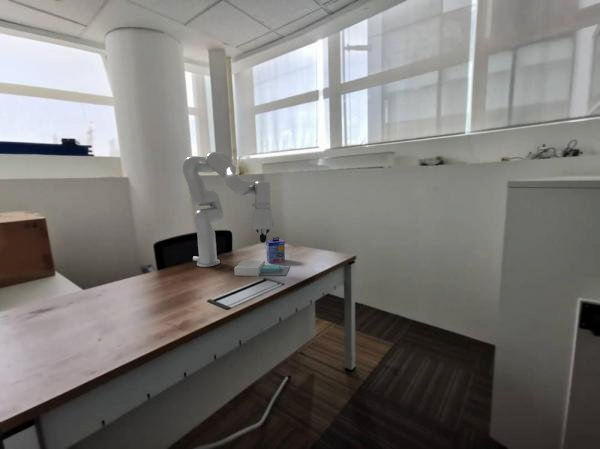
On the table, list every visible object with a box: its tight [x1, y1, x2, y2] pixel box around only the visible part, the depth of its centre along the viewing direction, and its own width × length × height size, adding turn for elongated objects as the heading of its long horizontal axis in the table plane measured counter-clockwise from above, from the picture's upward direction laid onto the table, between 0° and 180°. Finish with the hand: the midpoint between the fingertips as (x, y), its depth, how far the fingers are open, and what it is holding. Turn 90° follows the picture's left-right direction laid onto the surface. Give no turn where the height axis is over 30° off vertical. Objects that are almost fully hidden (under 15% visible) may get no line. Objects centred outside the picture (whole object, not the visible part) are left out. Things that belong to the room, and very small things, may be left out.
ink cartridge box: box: [265, 236, 286, 264], centre depth 159 cm, size 10×6×14 cm, turn 115°
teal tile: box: [260, 264, 281, 273], centre depth 142 cm, size 9×6×2 cm, turn 83°
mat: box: [259, 266, 291, 277], centre depth 142 cm, size 13×14×1 cm
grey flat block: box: [234, 259, 266, 277], centre depth 143 cm, size 12×14×4 cm
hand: (263, 242), depth 141 cm, fingers closed
